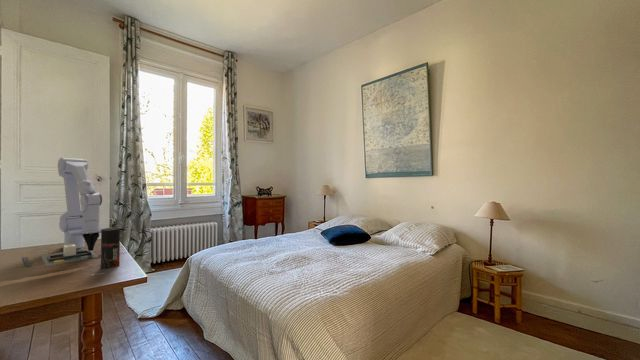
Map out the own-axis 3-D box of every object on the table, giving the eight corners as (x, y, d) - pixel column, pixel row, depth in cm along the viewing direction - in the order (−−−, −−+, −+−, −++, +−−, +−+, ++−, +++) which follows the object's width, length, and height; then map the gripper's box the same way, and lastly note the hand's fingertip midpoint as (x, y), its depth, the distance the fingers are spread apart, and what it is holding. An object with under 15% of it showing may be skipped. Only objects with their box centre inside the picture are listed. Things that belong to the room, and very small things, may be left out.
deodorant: (111, 269, 106) (112, 230, 106) (96, 268, 106) (97, 230, 106) (123, 264, 112) (123, 227, 112) (108, 263, 112) (109, 227, 112)
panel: (40, 258, 117) (40, 253, 117) (88, 250, 129) (88, 246, 129) (46, 269, 104) (46, 263, 104) (99, 259, 117) (99, 255, 116)
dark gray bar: (22, 260, 113) (22, 257, 113) (27, 260, 114) (27, 256, 114) (25, 270, 103) (25, 266, 103) (30, 269, 104) (30, 265, 104)
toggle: (63, 256, 117) (63, 245, 117) (74, 254, 119) (74, 243, 119) (64, 258, 114) (65, 246, 114) (76, 256, 117) (76, 245, 117)
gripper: (70, 223, 114) (70, 255, 114) (113, 219, 125) (112, 248, 125) (67, 221, 118) (67, 252, 118) (109, 217, 129) (108, 246, 130)
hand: (90, 250), depth 122 cm, fingers closed
